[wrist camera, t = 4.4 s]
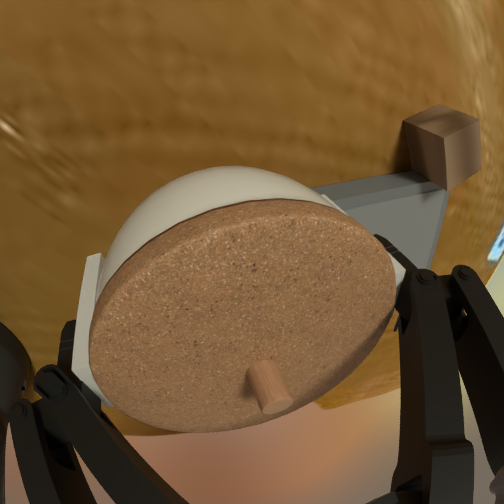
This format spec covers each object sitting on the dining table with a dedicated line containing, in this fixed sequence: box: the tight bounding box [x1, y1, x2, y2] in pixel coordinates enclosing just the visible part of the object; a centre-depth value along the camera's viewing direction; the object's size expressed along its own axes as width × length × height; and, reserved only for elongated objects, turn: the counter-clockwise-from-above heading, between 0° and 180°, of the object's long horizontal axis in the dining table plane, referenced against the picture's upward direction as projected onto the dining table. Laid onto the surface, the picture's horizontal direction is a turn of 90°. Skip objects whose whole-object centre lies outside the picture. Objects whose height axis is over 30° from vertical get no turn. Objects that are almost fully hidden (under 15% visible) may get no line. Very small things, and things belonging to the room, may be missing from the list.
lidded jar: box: [88, 166, 396, 433], centre depth 12 cm, size 11×11×9 cm
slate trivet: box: [311, 170, 450, 310], centre depth 28 cm, size 16×16×3 cm
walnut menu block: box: [403, 104, 481, 192], centre depth 22 cm, size 5×5×5 cm
